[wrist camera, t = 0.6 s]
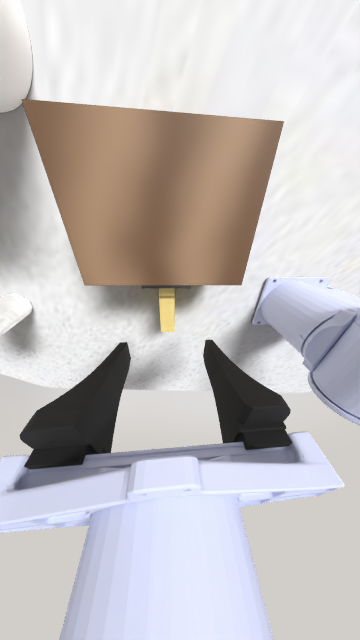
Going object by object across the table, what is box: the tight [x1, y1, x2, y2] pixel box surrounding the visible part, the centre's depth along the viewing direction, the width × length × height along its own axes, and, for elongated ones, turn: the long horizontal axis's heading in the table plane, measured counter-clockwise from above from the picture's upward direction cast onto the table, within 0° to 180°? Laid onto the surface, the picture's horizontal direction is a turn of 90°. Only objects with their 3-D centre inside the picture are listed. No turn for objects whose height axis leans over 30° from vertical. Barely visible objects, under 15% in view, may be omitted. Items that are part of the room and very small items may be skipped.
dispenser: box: [21, 99, 284, 288], centre depth 13 cm, size 13×10×8 cm
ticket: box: [158, 288, 175, 332], centre depth 16 cm, size 2×14×6 cm, turn 178°
